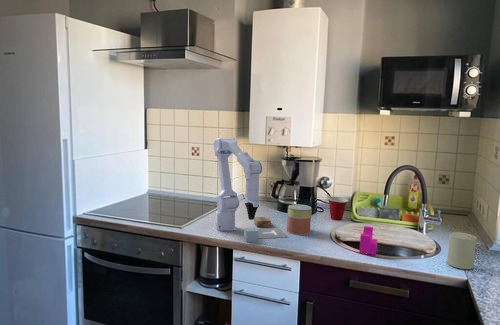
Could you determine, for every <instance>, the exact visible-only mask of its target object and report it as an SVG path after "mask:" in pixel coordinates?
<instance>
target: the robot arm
mask: <svg viewBox="0 0 500 325" xmlns="http://www.w3.org/2000/svg"><path fill="white" fill-rule="evenodd" d="M213 151H214V156H215V157H216V161H217V167H218V175H219V176H218V177H219V182H220V190H221V191H220V192H219V193H218V194H217V195H216V207H217V209H218V210H216V211H215V229H216V230H217V232H221V231H222V232H224V231H225V232H226V231H237V230H238V229H237V227H236V212H237V210H238V209H239V208H240V199H239V197H238V193H237V192H235V191H234V190H233V186H232V180H231V172H230V165H229V158H230V156H232V155H234V156H235V157H236V161H237V162H238V164H239V165H241V166H242V168H243V173H244V178H245V198H244V205H245V208H246V211H247V217H248V220H252V221H254V218H255V217H256V213H257V210H258V208H259V207H260V205H259V201H262V198H260V197H259V193H260V188H259V187H260V174H261V173H262V172H263V164H262V163H261V161H259V160H254V158H253V157H251V155H250V154H249V153H248V151H243V150H242V149H241V147H239V145H238V141H237V140H236V138H235V137H229V138H227V137H225V138H223V137H221V138H220V137H217V138H215V140H214V142H213Z"/></svg>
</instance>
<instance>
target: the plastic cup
mask: <svg viewBox="0 0 500 325" xmlns="http://www.w3.org/2000/svg"><path fill="white" fill-rule="evenodd" d="M327 199H328V206H329V216H330V219H331V220H332V221H337V222H338V221H339V222H340V221H342V220H343V216H344V214H345V210H346V206H347V203H349V199H347V198H345V197H339V196H328V197H327Z"/></svg>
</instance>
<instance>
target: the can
mask: <svg viewBox="0 0 500 325" xmlns="http://www.w3.org/2000/svg"><path fill="white" fill-rule="evenodd" d="M477 239H478V237H477V236H475V235H473V234H470V233H466V232H459V231H453V232H450V233H449V240H448V252H447V259H446V264H448V265H449V266H451V267H454V268H458V269H462V270H472V269H474V267H475V265H474V263H475V255H476V246H477Z"/></svg>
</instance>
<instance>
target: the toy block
mask: <svg viewBox="0 0 500 325" xmlns="http://www.w3.org/2000/svg"><path fill="white" fill-rule="evenodd" d="M373 232H374V227H373V226H369V225H368V226H367V225H364V226H363V232H362V233H360V239H359V253H360V254H364V253H367V254H366V255H370V254H371V256H376V255H377V254H376V252H377V248H378V239H376V238H373ZM361 252H362V253H361Z"/></svg>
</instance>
